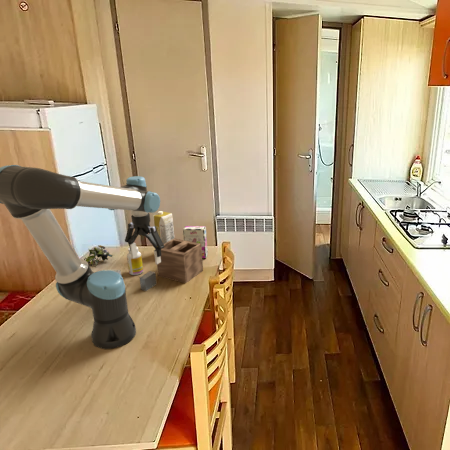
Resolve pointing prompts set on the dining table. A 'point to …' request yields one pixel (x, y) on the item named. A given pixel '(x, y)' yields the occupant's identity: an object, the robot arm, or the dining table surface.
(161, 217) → the juice carton
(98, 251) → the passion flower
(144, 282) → the grey rectangular block
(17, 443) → the dining table surface
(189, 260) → the wooden compartment box
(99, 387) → the dining table surface
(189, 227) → the candy bar box
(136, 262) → the supplement bottle
